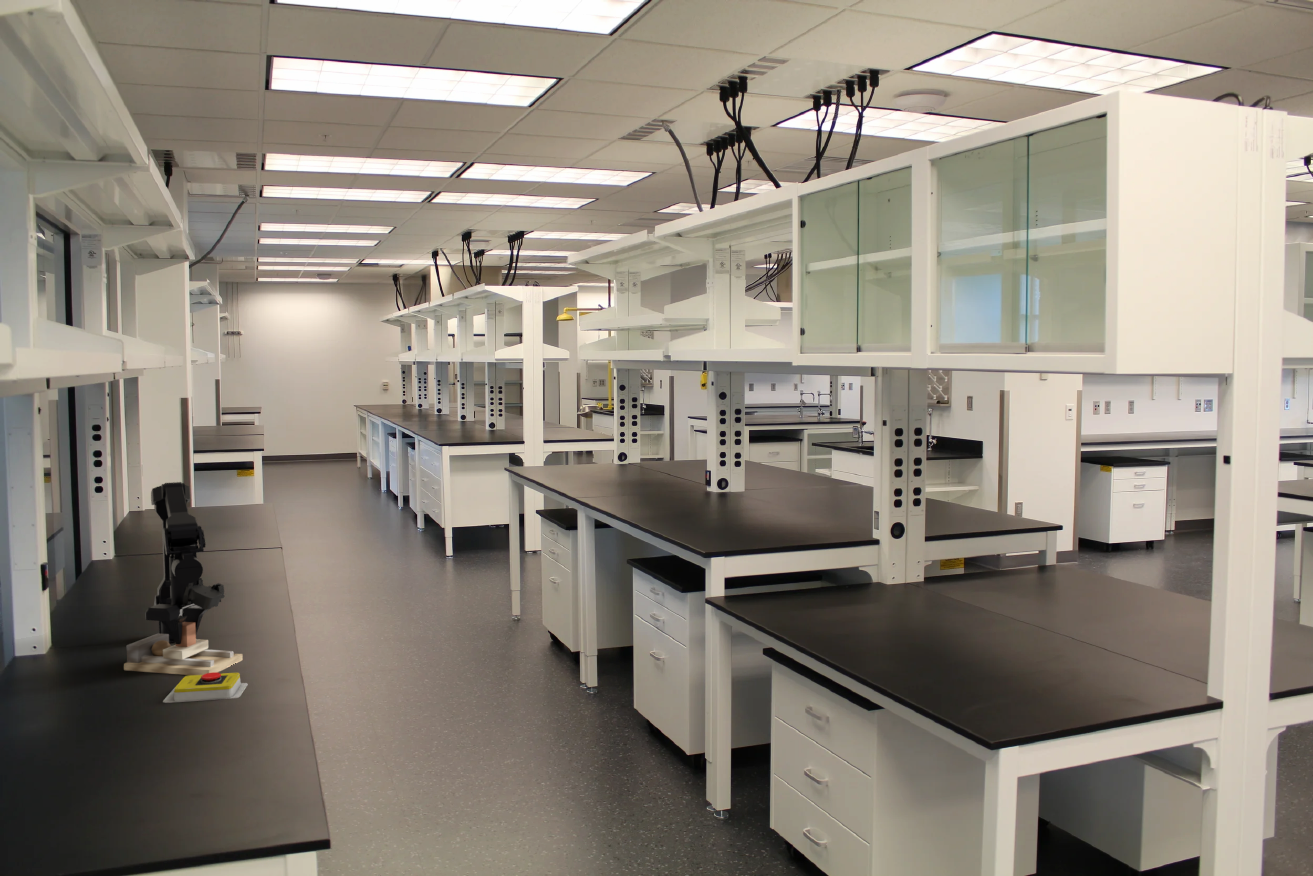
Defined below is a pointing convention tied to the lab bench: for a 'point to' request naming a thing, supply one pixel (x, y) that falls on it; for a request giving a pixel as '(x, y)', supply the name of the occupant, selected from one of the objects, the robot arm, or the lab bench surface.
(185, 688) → the emergency button
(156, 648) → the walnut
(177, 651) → the slider
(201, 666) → the press bed
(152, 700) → the lab bench surface
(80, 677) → the lab bench surface
